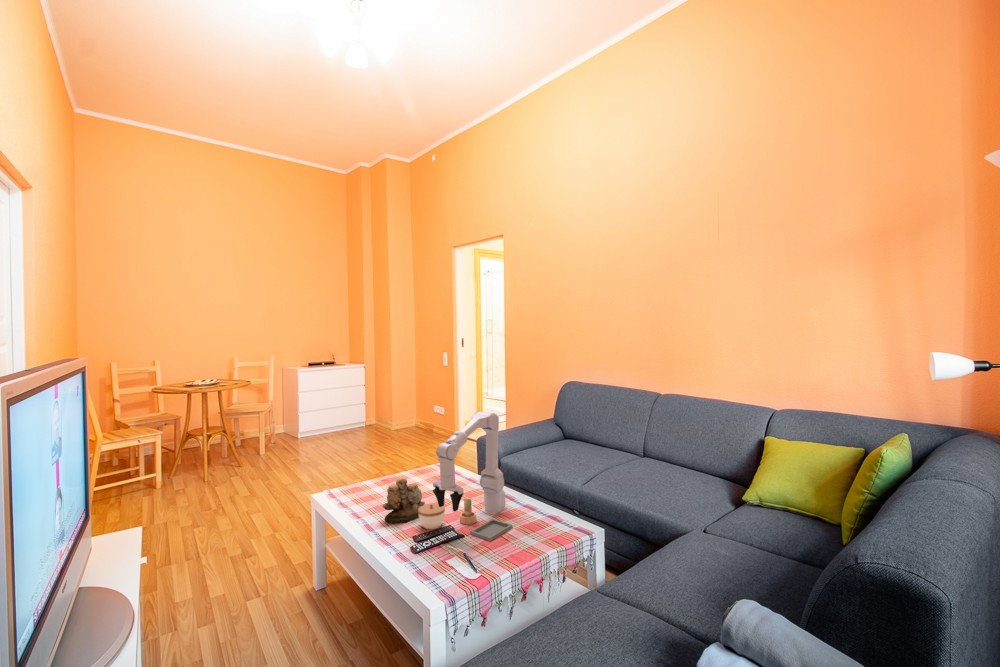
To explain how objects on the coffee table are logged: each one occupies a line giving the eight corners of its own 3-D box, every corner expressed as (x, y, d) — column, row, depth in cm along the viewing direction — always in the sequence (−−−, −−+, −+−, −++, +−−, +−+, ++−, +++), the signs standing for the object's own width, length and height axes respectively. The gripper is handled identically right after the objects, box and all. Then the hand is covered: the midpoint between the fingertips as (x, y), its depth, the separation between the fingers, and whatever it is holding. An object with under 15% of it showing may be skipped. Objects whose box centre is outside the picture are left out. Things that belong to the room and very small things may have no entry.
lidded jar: (420, 534, 183) (419, 511, 183) (417, 523, 193) (416, 501, 193) (447, 531, 186) (446, 507, 185) (443, 520, 196) (442, 498, 196)
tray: (492, 523, 192) (492, 518, 192) (512, 529, 186) (512, 524, 186) (470, 535, 181) (470, 531, 181) (490, 542, 175) (490, 538, 175)
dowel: (467, 518, 195) (467, 497, 195) (473, 520, 194) (472, 498, 193) (463, 521, 193) (462, 499, 193) (468, 522, 191) (467, 501, 191)
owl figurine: (386, 527, 190) (385, 486, 190) (379, 517, 201) (378, 478, 200) (428, 517, 199) (427, 477, 199) (419, 508, 209) (418, 470, 209)
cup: (467, 517, 198) (467, 509, 198) (479, 521, 194) (479, 513, 194) (456, 522, 193) (456, 515, 193) (468, 526, 189) (468, 519, 189)
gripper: (427, 473, 184) (428, 507, 184) (454, 480, 175) (455, 516, 175) (439, 468, 189) (440, 501, 190) (466, 475, 180) (467, 509, 181)
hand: (448, 508), depth 183 cm, fingers open, 7 cm apart
